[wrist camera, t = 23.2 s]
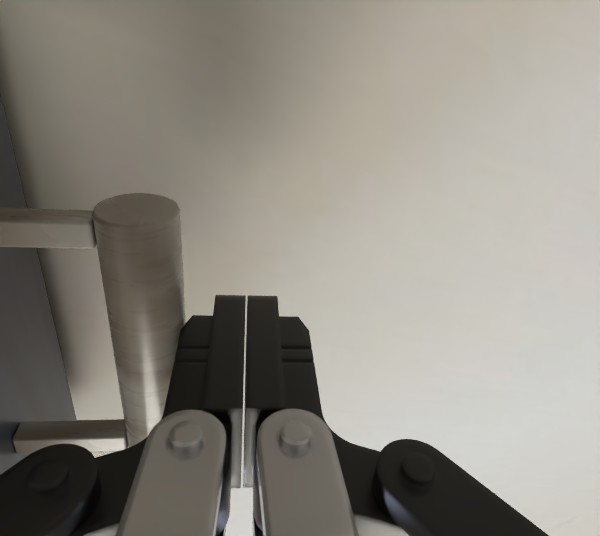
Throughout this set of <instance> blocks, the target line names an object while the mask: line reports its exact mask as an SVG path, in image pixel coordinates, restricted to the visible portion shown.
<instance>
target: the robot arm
mask: <svg viewBox="0 0 600 536" xmlns="http://www.w3.org/2000/svg"><path fill="white" fill-rule="evenodd" d="M244 336H245V296H238V295H216V297H215V304H214V313H213V316H197V315H193V316H192V317H191V318H190V319H189V320H188V322H187V323H186V324H185V325H184V326H183V327H182V329H181V331H180V336H179V341H178V345H177V346H178V347H177V350H176V355H175V362H174V365H173V369H172V374H171V379H170V384H169V388H168V393H167V398H166V403H165V408H164V412H163V416H162V419H161V420H160V421H159V422H158V423H157V424H156V425H155V426H154V427H153V428H152V430H151V431H150V433H149V435H148V437H146V438H145V439H144V440H142V441H141V442H139V443H138V444H136V445H134V446H132V447H129V448H127V449H124V450H121V451H117V452H114V453H110V454H107V455H104V456H100V457H97V458H94V456H93V455H92V453H91V452H90V451H89V450H87V449H86V448H84V447H82V446H79V445H75V444H55V445H51V446H47V447H44V448H42V449H39V450H37V451H35V452H33V453H31V454H30V455H28V456H26V457H25V458H23V459H22V460H21V461H19V462H18V463H16V464H15V465H14V466H12V467H11V468H9V469H8V470H6V471H5V472H4V473H2V474H1V475H0V536H225V533H226V523H227V521H228V518H229V512H230V491H231V488H240V486H241V450H242V414H243V375H244ZM245 487H253V536H549V535H547V534H546V533H545V532H543V531H542V530H541V529H539V528H538V527H537V526H536V525H534V524H533V523H532V522H530V521H529V520H528V519H526V518H525V517H524V516H523V515H521V514H520V513H519V512H517V511H516V510H515V509H514V508H512V507H511V506H510V505H508V504H507V503H506V502H504V501H503V500H502V499H501V498H499V497H498V496H497V495H495V494H494V493H493V492H491V491H490V490H489V489H488V488H486V487H485V486H484V485H482V484H481V483H480V482H479V481H477V480H476V479H475V478H473V477H472V476H471V475H469V474H468V473H467V472H466V471H464V470H463V469H462V468H460V467H459V466H458V465H456V464H455V463H454V462H453V461H451V460H450V459H449V458H447V457H446V456H445V455H444V454H442V453H441V452H440V451H438V450H437V449H435V448H434V447H432V446H430V445H428V444H426V443H424V442H421V441H417V440H411V439H401V440H397V441H394V442H391V443H389V444H388V445H387V446H385V447H384V448H383V449H382V451H381V452H379V451H376V450H372V449H368V448H365V447H361V446H358V445H355V444H352V443H349V442H347V441H345V440H343V439H342V438H340V437H339V436H338V435H336V434H335V433H334V432H333V431H332V430H331V429H330V428H329V426H328V425H327V423H326V422H325V420H324V418H323V415H322V410H321V404H320V398H319V392H318V385H317V379H316V373H315V366H314V363H313V354H312V349H311V341H310V335H309V330H308V329H307V328H306V326H305V325H304V324H303V322H302V321H301V320H300V319H299V317H279V312H278V299H277V296H248V304H247V336H246V376H245V428H244V479H243V488H245Z"/></svg>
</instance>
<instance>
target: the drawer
mask: <svg viewBox="0 0 600 536" xmlns="http://www.w3.org/2000/svg"><path fill="white" fill-rule="evenodd" d="M96 244H97V248H98V255H99V261H100V268H101V274H102V280H103V287H104V293H105V299H106V306H107V312H108V318H109V325H110V331H111V337H112V344H113V350H114V357H115V363H116V369H117V376H118V382H119V388H120V395H121V401H122V407H123V414H124V419H121V420H76V416H75V411H74V407H73V403H72V398H71V394H70V390H69V386H68V381H67V377H66V373H65V369H64V364H63V360H62V356H61V352H60V347H59V343H58V339H57V334H56V330H55V326H54V322H53V317H52V313H51V309H50V305H49V300H48V296H47V292H46V288H45V283H44V279H43V275H42V271H41V266H40V262H39V258H38V253H37V249H36V248H67V249H93V248H95V246H96ZM185 324H186V322H185V302H184V283H183V263H182V244H181V224H180V209H179V207H178V205H177V203H176V202H174V201H173V200H171V199H169V198H167V197H164V196H160V195H155V194H146V193H134V194H124V195H118V196H114V197H111V198H108V199H105V200H103V201H101V202H100V203H98V204H97V205H96V206H95V207H94V209H93V211H86V210H58V209H30V208H27V207H26V202H25V198H24V194H23V189H22V185H21V181H20V177H19V172H18V168H17V164H16V160H15V155H14V151H13V147H12V143H11V138H10V134H9V130H8V125H7V121H6V117H5V113H4V108H3V104H2V100H1V96H0V475H1V474H2V473H4V472H5V471H6V470H8V469H9V468H11V467H12V466H14V465H15V464H16V463H18V462H19V461H21V460H22V459H23V458H25V457H26V456H28V455H30V454H31V453H33V452H35V451H37V450H39V449H42V448H44V447H47V446H51V445H55V444H75V445H79V446H82V447H84V448H86V449H87V450H89V451H90V452H115V451H121V450H124V449H127V448H128V446H129V447H132V446H134V445H136V444H138V443H139V442H141V441H142V440H144V439H145V438H146V437H148V435H149V433H150V431H151V430H152V428H153V427H154V426H155V425H156V424H157V423H158V422H159V421H160V420H161V419H162V416H163V412H164V408H165V403H166V398H167V393H168V388H169V384H170V379H171V374H172V369H173V365H174V362H175V355H176V350H177V347H178V346H177V345H178V341H179V336H180V331H181V329H182V327H183V326H184V325H185Z"/></svg>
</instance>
